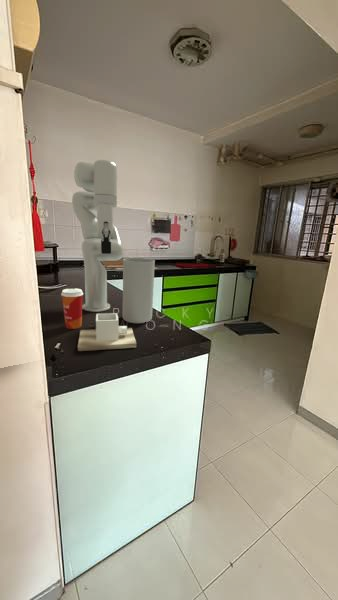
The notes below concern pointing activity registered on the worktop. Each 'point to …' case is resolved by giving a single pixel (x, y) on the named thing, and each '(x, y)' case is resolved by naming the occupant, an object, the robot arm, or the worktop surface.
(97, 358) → the worktop surface
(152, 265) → the cylinder vase
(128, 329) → the board
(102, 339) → the duct collar
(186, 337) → the worktop surface
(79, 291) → the paper cup
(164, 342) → the worktop surface
